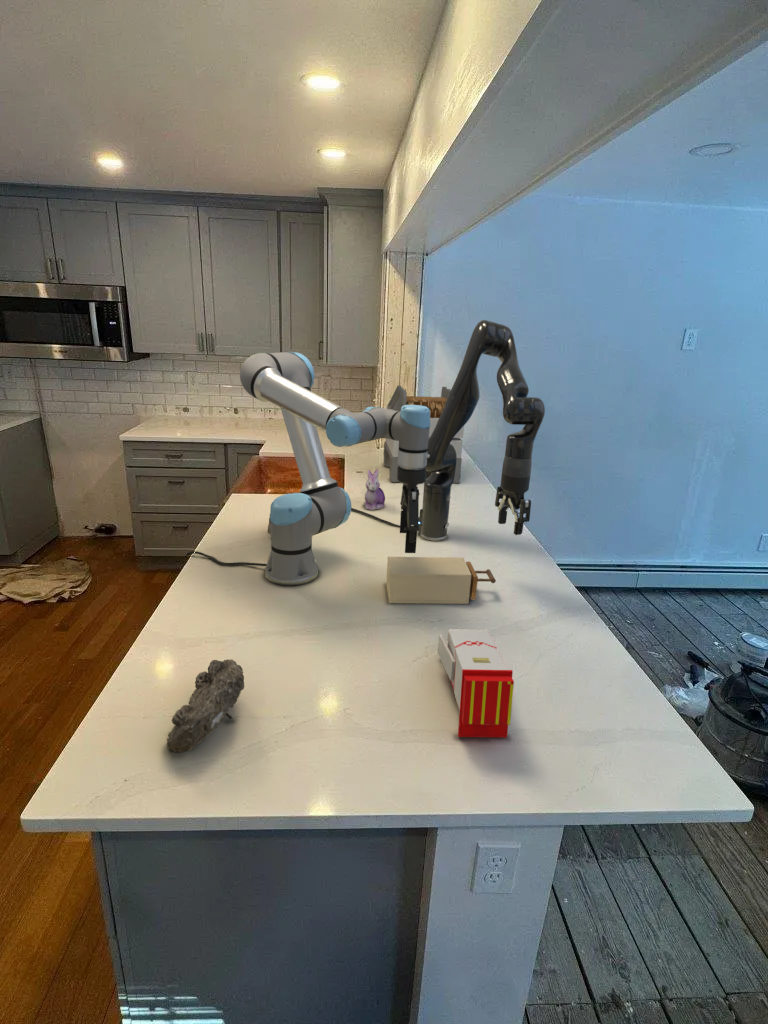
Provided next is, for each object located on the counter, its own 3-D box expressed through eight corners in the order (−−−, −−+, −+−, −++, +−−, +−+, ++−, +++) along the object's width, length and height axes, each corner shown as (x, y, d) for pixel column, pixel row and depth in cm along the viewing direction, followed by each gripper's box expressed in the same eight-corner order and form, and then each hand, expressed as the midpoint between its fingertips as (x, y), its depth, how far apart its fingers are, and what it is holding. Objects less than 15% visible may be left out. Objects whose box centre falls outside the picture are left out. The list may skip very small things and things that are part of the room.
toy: (488, 613, 130) (523, 677, 101) (484, 667, 133) (517, 744, 104) (435, 612, 130) (455, 676, 101) (432, 666, 133) (451, 743, 103)
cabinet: (460, 585, 165) (463, 557, 162) (468, 603, 154) (471, 574, 151) (386, 584, 163) (387, 556, 160) (389, 603, 153) (390, 573, 150)
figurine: (369, 511, 219) (370, 474, 214) (358, 503, 228) (359, 467, 223) (390, 509, 224) (392, 472, 219) (378, 501, 232) (380, 465, 227)
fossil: (192, 660, 117) (244, 628, 112) (224, 691, 120) (276, 661, 115) (142, 746, 98) (202, 712, 93) (182, 779, 101) (242, 748, 96)
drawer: (487, 583, 164) (489, 561, 162) (495, 599, 155) (498, 577, 153) (397, 582, 162) (399, 560, 160) (401, 599, 153) (402, 576, 151)
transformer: (382, 463, 289) (386, 382, 275) (445, 464, 293) (451, 384, 279) (390, 482, 257) (394, 392, 243) (460, 483, 261) (468, 394, 247)
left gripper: (434, 480, 135) (427, 561, 142) (420, 454, 158) (415, 525, 165) (402, 480, 134) (397, 561, 141) (393, 454, 157) (389, 525, 165)
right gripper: (543, 479, 147) (535, 537, 152) (514, 465, 159) (508, 519, 165) (518, 480, 144) (510, 539, 150) (491, 466, 157) (485, 521, 162)
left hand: (407, 542), depth 153 cm, fingers open, 13 cm apart
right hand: (509, 528), depth 157 cm, fingers open, 8 cm apart
